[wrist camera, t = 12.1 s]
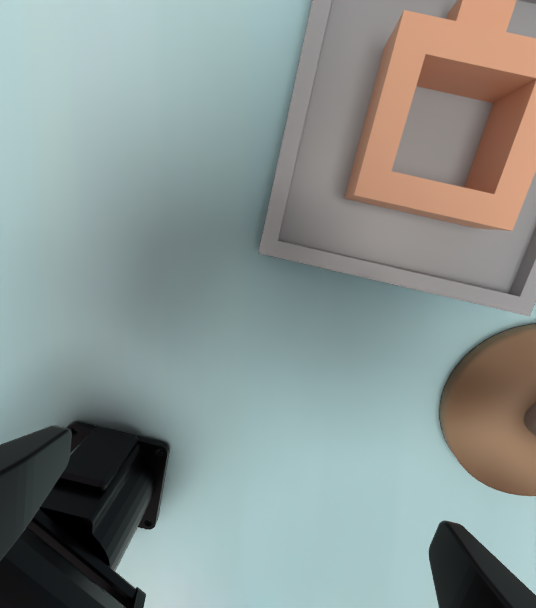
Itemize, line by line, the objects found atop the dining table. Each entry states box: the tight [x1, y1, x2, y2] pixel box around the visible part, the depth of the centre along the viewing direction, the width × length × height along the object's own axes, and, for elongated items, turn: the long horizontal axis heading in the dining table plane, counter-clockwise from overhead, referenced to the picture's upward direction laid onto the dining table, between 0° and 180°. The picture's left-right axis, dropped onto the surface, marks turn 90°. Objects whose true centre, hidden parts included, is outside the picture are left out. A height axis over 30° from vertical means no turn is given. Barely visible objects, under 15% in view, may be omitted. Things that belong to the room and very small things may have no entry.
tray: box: [258, 0, 536, 316], centre depth 16 cm, size 14×14×2 cm
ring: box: [344, 0, 536, 231], centre depth 15 cm, size 8×7×3 cm
